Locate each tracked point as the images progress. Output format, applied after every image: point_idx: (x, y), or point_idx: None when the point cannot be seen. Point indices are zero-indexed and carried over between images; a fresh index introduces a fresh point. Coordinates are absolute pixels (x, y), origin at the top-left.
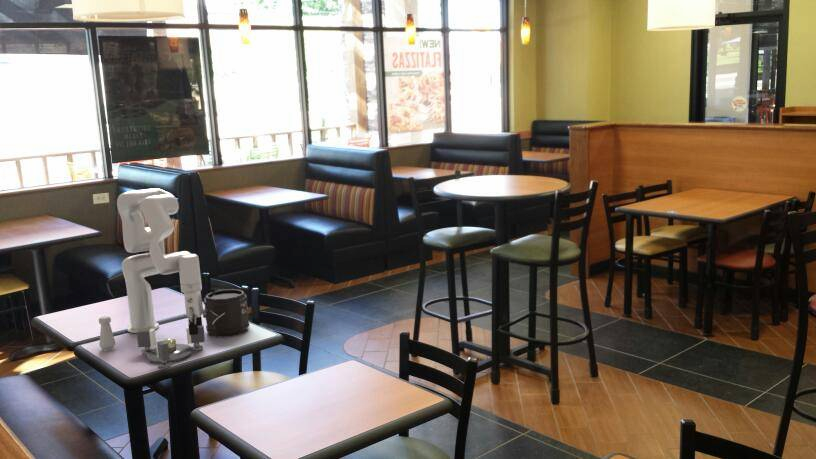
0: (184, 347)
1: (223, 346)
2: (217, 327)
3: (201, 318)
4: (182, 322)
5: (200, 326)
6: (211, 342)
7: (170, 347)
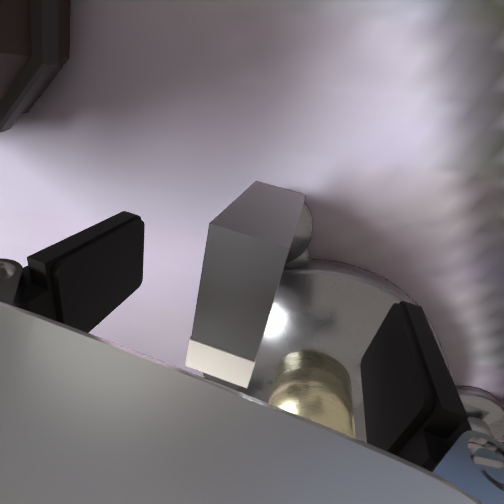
0: (292, 309)
1: (302, 21)
2: (5, 35)
3: (56, 245)
4: None
5: (241, 263)
6: (169, 116)
7: (353, 411)
